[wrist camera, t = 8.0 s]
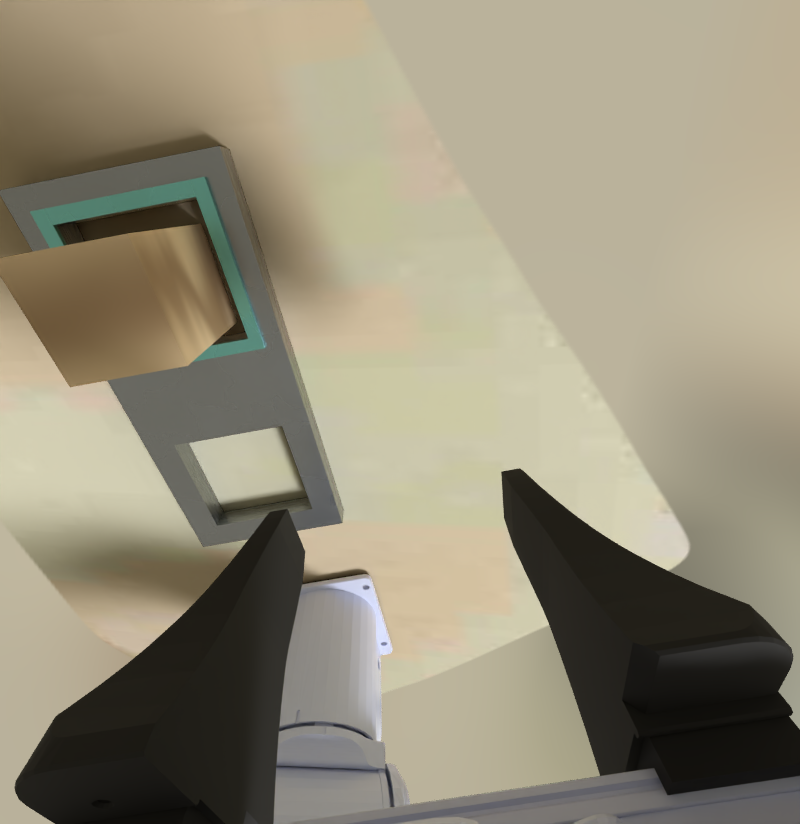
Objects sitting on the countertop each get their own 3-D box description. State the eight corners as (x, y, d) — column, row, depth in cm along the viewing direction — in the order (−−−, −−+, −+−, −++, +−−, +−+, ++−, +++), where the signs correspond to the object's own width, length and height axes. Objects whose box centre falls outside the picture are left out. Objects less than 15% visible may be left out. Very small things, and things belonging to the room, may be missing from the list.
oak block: (237, 321, 20) (187, 365, 14) (150, 337, 20) (70, 387, 15) (201, 223, 18) (127, 233, 12) (104, 242, 18) (-10, 259, 12)
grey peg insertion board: (343, 509, 26) (342, 525, 25) (210, 532, 26) (202, 549, 25) (229, 149, 16) (217, 145, 15) (21, 191, 17) (-7, 190, 15)
